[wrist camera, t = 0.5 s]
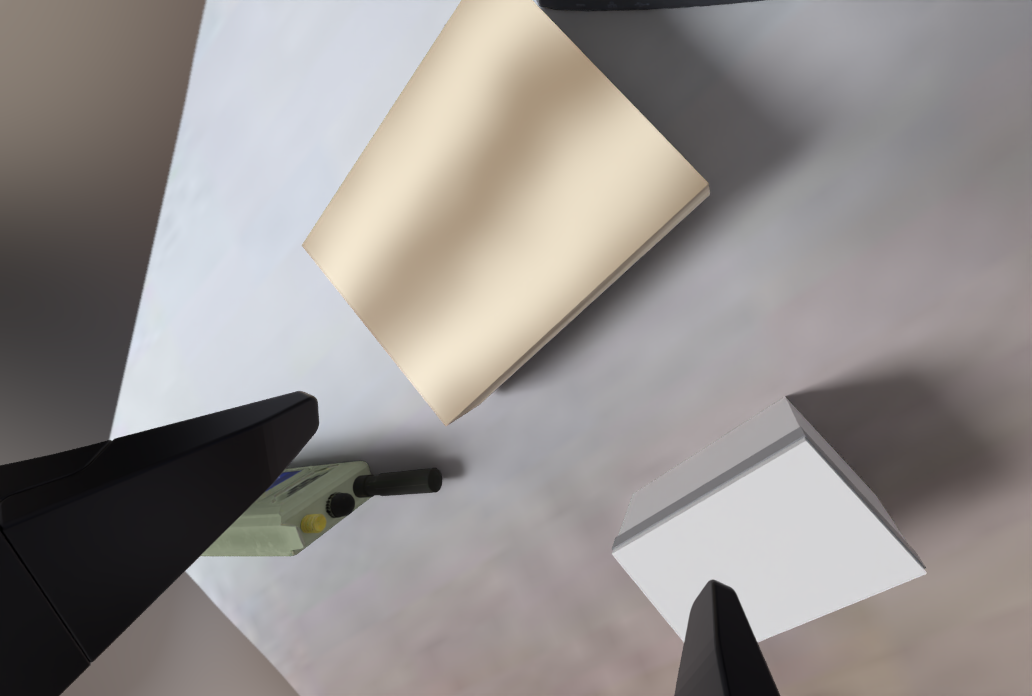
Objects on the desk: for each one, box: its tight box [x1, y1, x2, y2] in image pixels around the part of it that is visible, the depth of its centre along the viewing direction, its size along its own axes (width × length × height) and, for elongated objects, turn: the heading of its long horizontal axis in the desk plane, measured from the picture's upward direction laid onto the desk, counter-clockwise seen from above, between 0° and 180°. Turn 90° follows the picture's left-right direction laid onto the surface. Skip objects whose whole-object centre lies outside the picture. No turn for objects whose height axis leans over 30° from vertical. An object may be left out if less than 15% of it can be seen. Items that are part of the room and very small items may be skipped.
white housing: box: [612, 397, 927, 642], centre depth 18 cm, size 5×8×5 cm, turn 134°
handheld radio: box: [201, 461, 442, 556], centre depth 29 cm, size 7×3×25 cm
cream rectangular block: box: [302, 0, 710, 426], centre depth 20 cm, size 11×14×4 cm
